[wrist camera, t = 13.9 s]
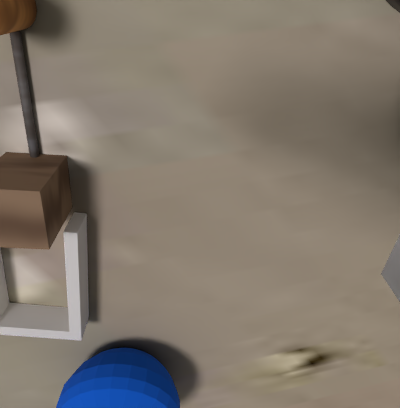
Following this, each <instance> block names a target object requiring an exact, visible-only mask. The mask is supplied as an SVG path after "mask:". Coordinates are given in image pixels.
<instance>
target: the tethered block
mask: <svg viewBox="0 0 400 408" xmlns="http://www.w3.org/2000/svg"><path fill="white" fill-rule="evenodd" d="M36 14H37V7H36V3H35V0H0V35H3V34H7V33H10V38H11V44H12V50H13V56H14V62H15V68H16V75H17V81H18V87H19V93H20V99H21V105H22V111H23V117H24V123H25V129H26V135H27V141H28V147H29V153H30V154H28V153H11V152H6V153H5V154H4V155H2V156H1V157H0V247H7V248H29V249H50V247H51V245H52V243H53V242H54V240H55V238H56V236H57V234H58V232H59V231H60V229H61V227H62V225H63V223H64V222H65V220H66V218H67V216H68V214H69V212H70V211H71V209H72V207H73V206H72V197H71V188H70V179H69V170H68V162H67V156H62V155H45V154H39V150H38V143H37V137H36V130H35V123H34V117H33V110H32V104H31V97H30V91H29V84H28V78H27V71H26V65H25V58H24V51H23V45H22V38H21V32H20V30H24V29H26V28H28V27H30V26H31V25H32V24H33V22H34V21H35V18H36Z"/></svg>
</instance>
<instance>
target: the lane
mask: <svg viewBox="0 0 400 408" xmlns="http://www.w3.org/2000/svg"><path fill="white" fill-rule="evenodd" d="M64 249H65V265H66V282H67V299H68V307H58V306H46V305H33V304H21V303H10V302H9V296H8V290H7V284H6V278H5V272H4V266H3V260H2V254H1V248H0V334H1V335H14V336H28V337H41V338H55V339H69V340H82V337H83V334H84V331H85V328H86V324H87V321H88V318H89V296H88V252H87V213H78V212H74V213H73V215H72V217H71V219H70V221H69V222H68V224H67V226H66V228H65V230H64Z"/></svg>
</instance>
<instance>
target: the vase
mask: <svg viewBox="0 0 400 408" xmlns="http://www.w3.org/2000/svg"><path fill="white" fill-rule="evenodd" d="M56 408H180V401H179V397H178V393H177V390H176V387H175V385H174V382H173V380H172V377H171V375H170V374H169V373H168V371H167V370H166V368H165V367H164V366H163V365H162V364H161V363H160V362H159V361H158V360H157V359H156V358H154V357H153V356H152V355H150V354H148V353H146V352H143V351H141V350H137V349H134V348H114V349H109V350H106V351H103V352H100V353H99V354H97V355H95V356H94V357H92V358H90V359H89V360H87V361H85V362H84V363H83V364H82V365H81V366H80V367H79V368H78V369H77V370H76V372H75V373H74V374H73V375H72V376H71V377H70V379H69V380H68V381H67V382H66V383H65V384H64V387H63V390H62V392H61V395H60V398H59V401H58V404H57V406H56Z"/></svg>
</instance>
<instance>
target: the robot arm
mask: <svg viewBox="0 0 400 408" xmlns="http://www.w3.org/2000/svg"><path fill="white" fill-rule="evenodd" d="M386 1H387V2H388V3H389V4H390V5H391V6H392V7H393V8H395V9H396V10H397V11H399V12H400V0H386ZM381 274H382V276H383V277H384V279H385V280H386V282H387V283H388V285H389V286H390V288H391V289H392V291H393V292H394V294H395V295H396V297H397V298H398V300H399V302H400V235H399V237H398V239H397V242H396V244H395V246H394V248H393V250H392V252H391V254H390V256H389V258H388V260H387V263H386V265H385V267H384V269H383V271H382V273H381Z"/></svg>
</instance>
